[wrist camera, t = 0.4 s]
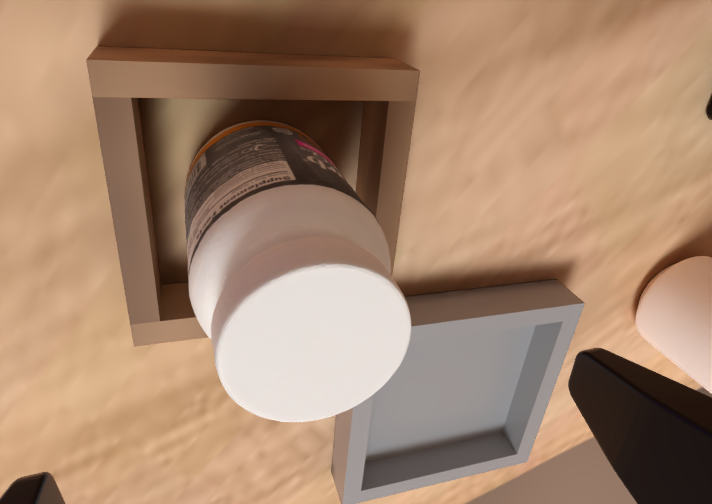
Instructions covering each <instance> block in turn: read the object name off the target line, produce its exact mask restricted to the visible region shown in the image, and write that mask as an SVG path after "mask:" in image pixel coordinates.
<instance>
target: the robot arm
mask: <svg viewBox="0 0 712 504" xmlns="http://www.w3.org/2000/svg"><path fill="white" fill-rule="evenodd" d="M707 117H708V118H709V119H710V120H712V102H711V104H710V107H709V109H708V113H707ZM568 387H569V391H570V394H571V396H572V398H573V400H574V402H575V403H576V405H577V407H578V409H579V410H580V412H581V414H582V416H583V417H584V419H585V421H586V423H587V424H588V426H589V428H590V430H591V431H592V433H593V435H594V437H595V438H596V440H597V442H598V444H599V445H600V447H601V449H602V451H603V452H604V454H605V456H606V457H607V459H608V461H609V462H610V464H611V466H612V467H613V469H614V470H615V472H616V473H617V475H618V476H619V478H620V479H621V481H622V482H623V484H624V485H625V487H626V488H627V489H628V491H629V492H630V494H631V495H632V496H633V498H634V499H635V501H636V502H637V504H712V398H711V397H709V396H707V395H705V394H702V393H700V392H698V391H696V390H694V389H691V388H689V387H687V386H685V385H683V384H680V383H678V382H676V381H674V380H671V379H669V378H667V377H665V376H663V375H660V374H658V373H656V372H654V371H651V370H649V369H647V368H645V367H643V366H640V365H638V364H636V363H634V362H631V361H629V360H627V359H625V358H623V357H620V356H618V355H616V354H614V353H611V352H609V351H607V350H605V349H602V348H593V349H588V350H584V351H581V352H579V353H578V354H577V356H576V359H575V362H574V365H573V369H572V372H571V375H570V379H569V383H568ZM0 504H65V502H64V499H63V497H62V495H61V493H60V491H59V488H58V486H57V484H56V482H55V480H54V478H53V476H52V475H51V474H50V473H48V472H42V473H38V474H33V475H29V476H24V477H21V478H19V479H17V480H16V481H14V482H13V483H12V484H11V485H10V487H9V488H8V489H7V490H6V492H5V493H4V494H3V495H2V496H1V498H0Z"/></svg>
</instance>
